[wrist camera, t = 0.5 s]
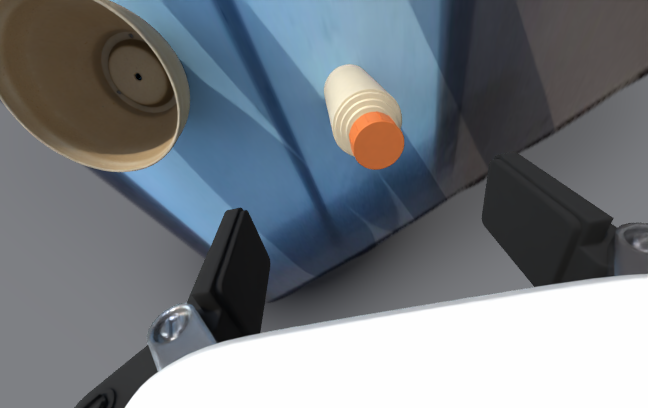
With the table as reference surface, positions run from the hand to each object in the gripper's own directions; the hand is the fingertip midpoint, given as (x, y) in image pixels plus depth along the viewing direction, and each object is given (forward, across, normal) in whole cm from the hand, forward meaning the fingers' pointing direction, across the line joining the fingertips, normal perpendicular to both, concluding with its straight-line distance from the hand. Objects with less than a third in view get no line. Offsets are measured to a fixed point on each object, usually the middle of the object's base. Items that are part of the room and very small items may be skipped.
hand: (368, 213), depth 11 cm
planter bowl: (+30, +22, -5) cm, 38 cm away
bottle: (+30, -2, +3) cm, 30 cm away
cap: (+12, -2, +3) cm, 12 cm away
